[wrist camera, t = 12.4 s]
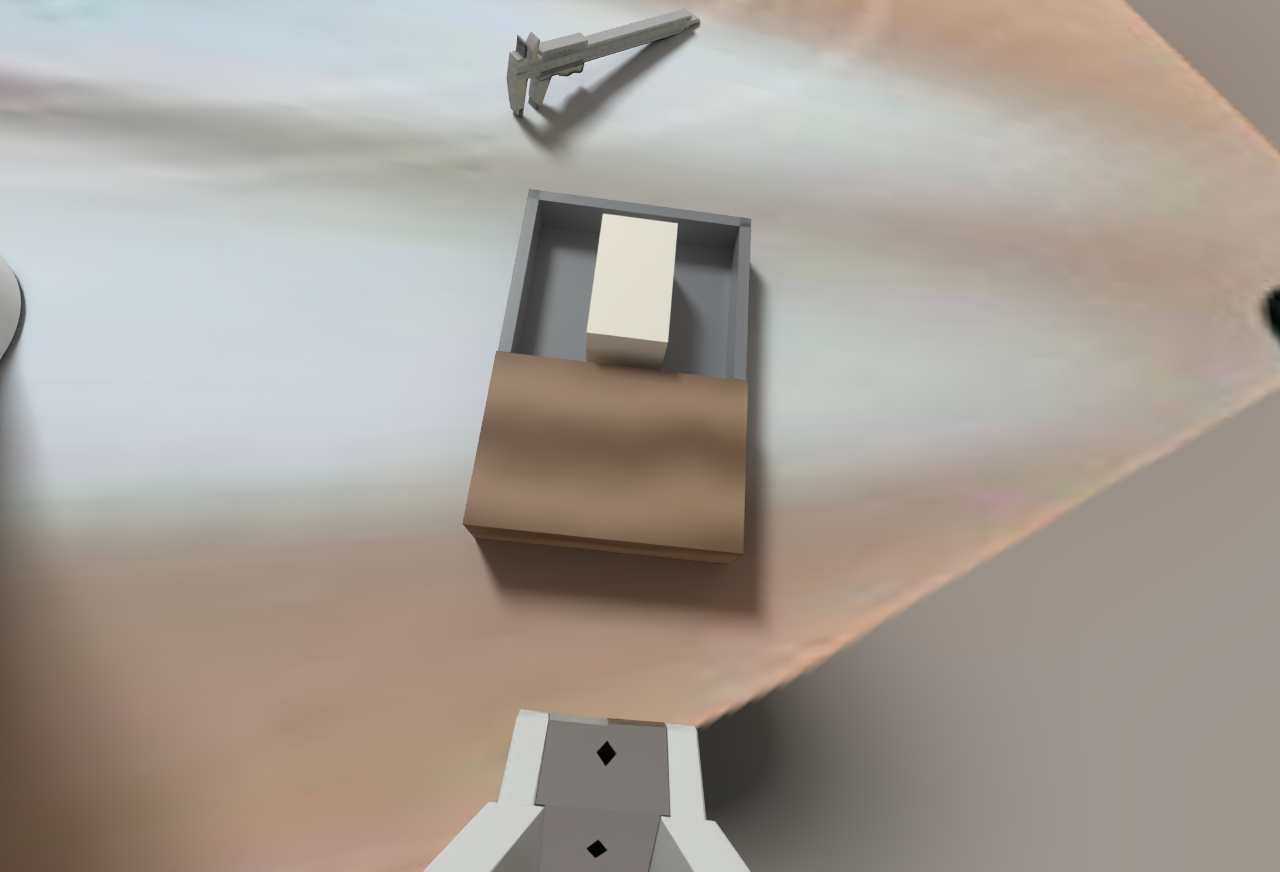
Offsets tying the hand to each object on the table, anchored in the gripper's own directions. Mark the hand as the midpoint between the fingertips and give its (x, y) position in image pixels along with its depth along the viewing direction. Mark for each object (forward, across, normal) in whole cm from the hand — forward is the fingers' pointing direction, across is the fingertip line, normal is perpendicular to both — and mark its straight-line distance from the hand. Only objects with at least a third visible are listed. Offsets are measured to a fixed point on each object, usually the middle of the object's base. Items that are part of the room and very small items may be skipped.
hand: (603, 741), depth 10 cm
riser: (+28, 0, -10) cm, 30 cm away
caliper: (+55, -4, +16) cm, 57 cm away
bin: (+37, 0, -1) cm, 37 cm away
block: (+31, 0, -3) cm, 31 cm away
